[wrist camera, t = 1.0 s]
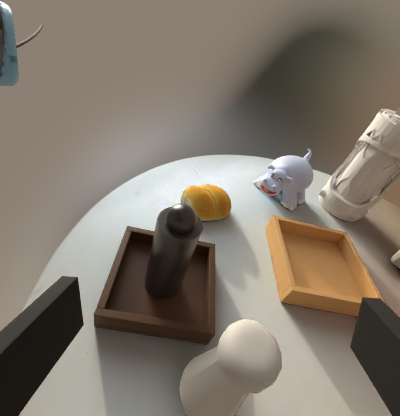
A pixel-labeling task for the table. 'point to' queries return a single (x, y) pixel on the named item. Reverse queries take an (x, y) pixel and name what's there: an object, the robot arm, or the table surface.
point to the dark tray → (155, 307)
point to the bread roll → (207, 201)
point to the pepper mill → (172, 250)
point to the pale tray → (318, 267)
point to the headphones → (396, 259)
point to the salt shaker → (230, 370)
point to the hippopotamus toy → (287, 179)
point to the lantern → (366, 170)
